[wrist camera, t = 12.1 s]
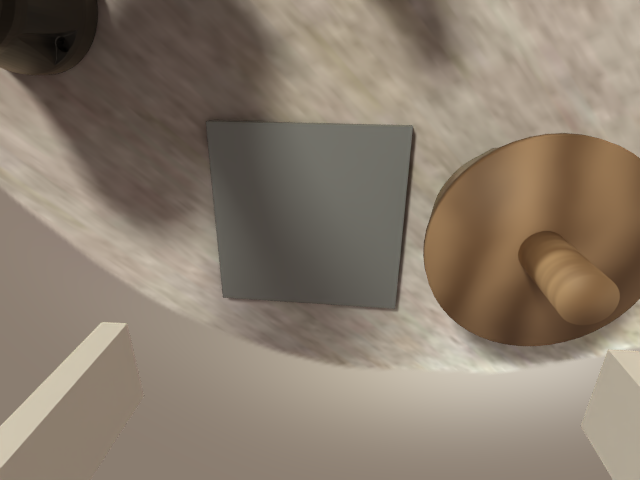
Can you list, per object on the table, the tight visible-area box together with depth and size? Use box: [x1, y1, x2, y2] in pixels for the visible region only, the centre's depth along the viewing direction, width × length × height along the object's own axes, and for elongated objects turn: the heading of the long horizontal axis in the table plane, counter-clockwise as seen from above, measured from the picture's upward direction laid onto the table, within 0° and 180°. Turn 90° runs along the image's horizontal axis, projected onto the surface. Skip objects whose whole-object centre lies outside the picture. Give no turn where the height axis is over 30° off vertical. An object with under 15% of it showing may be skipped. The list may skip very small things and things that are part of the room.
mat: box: [206, 120, 413, 309], centre depth 48 cm, size 22×22×1 cm
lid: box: [423, 133, 640, 346], centre depth 32 cm, size 20×20×9 cm
